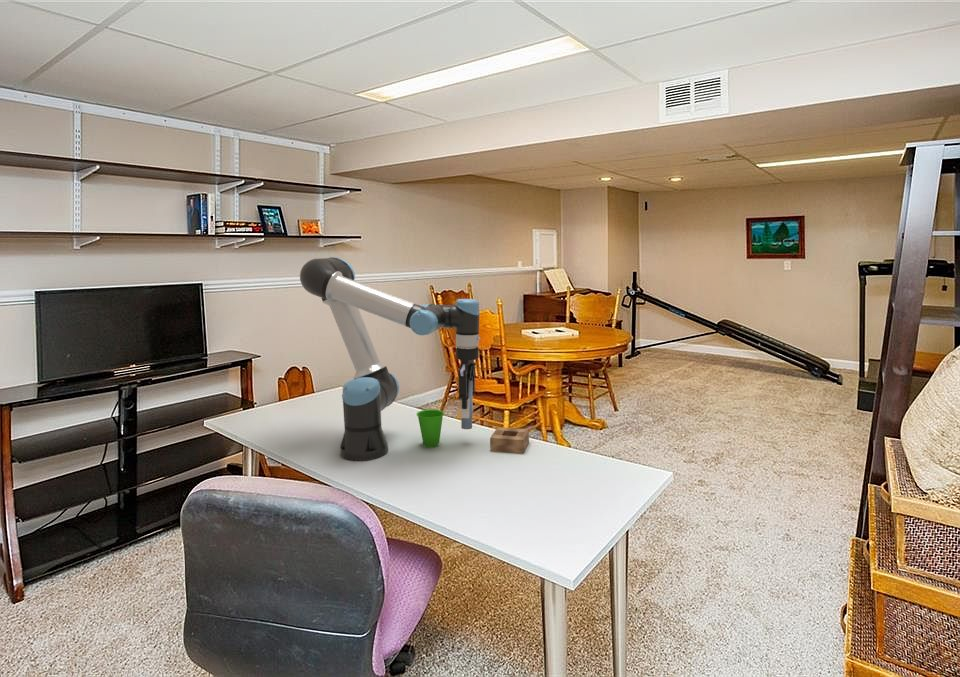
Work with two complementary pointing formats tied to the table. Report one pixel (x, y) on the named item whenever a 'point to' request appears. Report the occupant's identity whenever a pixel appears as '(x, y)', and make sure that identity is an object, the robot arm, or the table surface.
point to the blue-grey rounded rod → (467, 422)
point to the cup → (430, 426)
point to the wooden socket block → (509, 440)
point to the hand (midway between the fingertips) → (466, 415)
